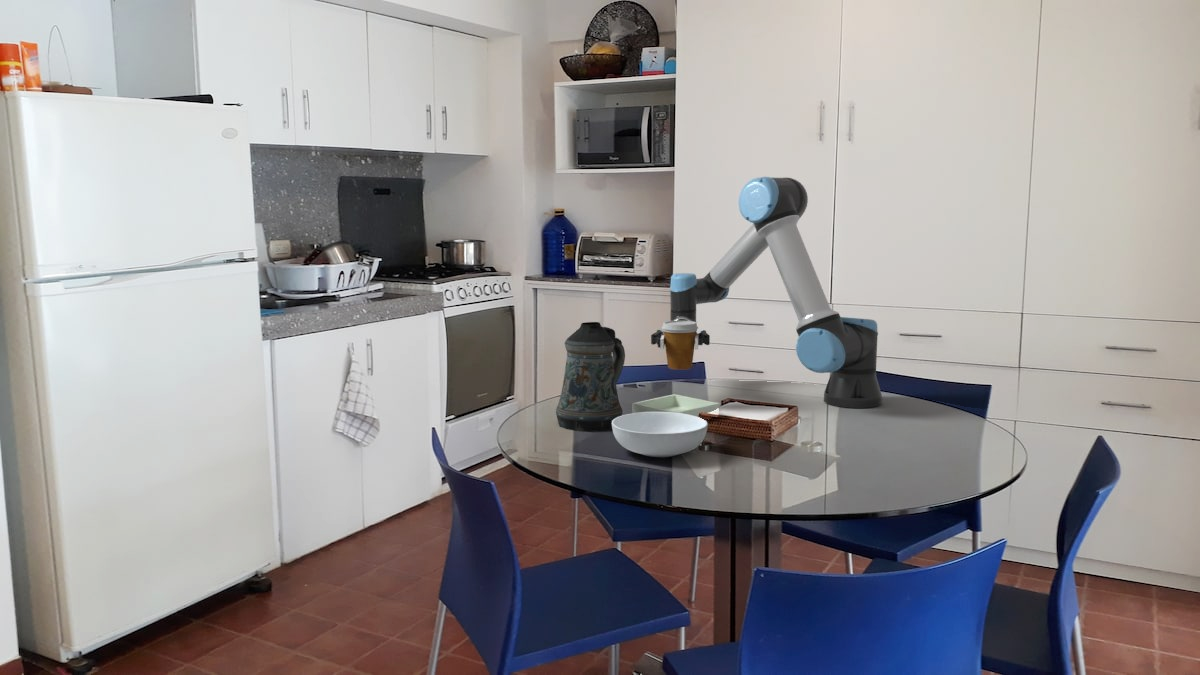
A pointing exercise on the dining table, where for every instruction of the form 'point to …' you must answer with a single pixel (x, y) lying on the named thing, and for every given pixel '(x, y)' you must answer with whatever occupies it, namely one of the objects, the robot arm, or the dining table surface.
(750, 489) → the dining table surface
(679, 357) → the disposable coffee cup
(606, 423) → the beer stein
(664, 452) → the serving bowl
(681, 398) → the tray
